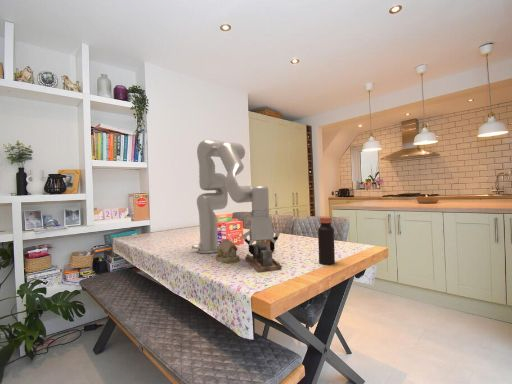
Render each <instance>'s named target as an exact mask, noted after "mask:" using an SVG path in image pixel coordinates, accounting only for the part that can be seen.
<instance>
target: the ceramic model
mask: <svg viewBox="0 0 512 384" xmlns="http://www.w3.org/2000/svg"><path fill="white" fill-rule="evenodd" d="M238 250H239V249H238V247H237V246H236V245H235V244H234V243H233V242H232V241H231V240H230V239H229V238H225V239H222V241H221V242H220V243H218V247H217V251H218V252H217V254H216V255H215V261H217V262H220V263H222V264H233V263H237V262H239V261H240V256H239V255H237V252H238Z"/></svg>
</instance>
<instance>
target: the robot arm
mask: <svg viewBox="0 0 512 384" xmlns="http://www.w3.org/2000/svg"><path fill="white" fill-rule="evenodd" d="M196 149H197V150H196V156H197V160H198V173H199V177H198V178H199V182H198V184H199V188H200V189H201V190H203V191H215V192H204V193H201V194H199V195H198V197H196V198H197V199H196V205H197V206H196V207H197V211H198V218H199V219H198V220H199V243H197V244H192V245H191V249H195V250H197V252H198V253H199V254H215V253H218V251H217V247H218V246H219V242H218V241H219V238H218V236H219V235H218V234H219V233H218V217H217V215H216V213H215V211H217V210H223V209H225V208H226V207H227V206H228V200H229V197H230V198H231V200H232V201H233V202H234V203H237V204H244V203H251V211H249V212H248V215H249V216H251V217H250V220H249V230H248V231H247V232H245V233H244V234H242V235H241V237H242V239H243V240H244V242H245V243H246V244H248V253H249V255H250V254H251V255H252V254H253V245H252V244H254V242H256V241H261V240H270V241H271V242H270V250H271V251H272V253H274V252H275V249H276V248H275V243H276V241H277V240H278V239H279V237H280V234H281V233H280V231H277V230H276V229H274V230H273V228H274V223H273V219H272V216H270V204H269V198H270V197H269V187H267V186H266V185H240V184H239V182H238V181H237V178H236V176H237V175H239V174H240V173H242V171H244V167H245V166H244V164H243V161H242V159H244V158H245V154H246V149H245V147H244V145H242V144H240V143H238V142H237V143H236V142H229V141H222V140H214V139H204V140H202V141H200V142H199V143H198V146H197V147H196ZM212 157H214V158H216V157H217V158H220V160H221V162H222V164H223V166H224V168H225V171H226V173H227V174H226V175H225V174H223V173H221V172H220V173H219V172H216V165H215V161H214V159H213V158H212ZM272 223H273V224H272ZM248 236H249V239H248V238H247V237H248ZM273 237H274V238H273Z"/></svg>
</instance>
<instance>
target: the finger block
mask: <svg viewBox="0 0 512 384" xmlns="http://www.w3.org/2000/svg"><path fill="white" fill-rule="evenodd" d="M255 244H256V245H255V255H256V260H257V261H258V262H259V263H261V262H260V252H261V250H269V245H268V243H266V242H265V241H262V242H256V241H255Z"/></svg>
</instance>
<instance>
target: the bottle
mask: <svg viewBox="0 0 512 384" xmlns="http://www.w3.org/2000/svg"><path fill="white" fill-rule="evenodd" d="M319 224H320V226H319V227H318V229H317V239H318V245H317V246H318V262H319V264H321V265H325V266H326V265H327V266H331V265H334V264H335V263H336V262H335V261H336V260H335V259H336V257H335V256H336V255H335V254H336V253H335V229H334V228H333V226H332V217H331V216H320V217H319Z"/></svg>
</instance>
